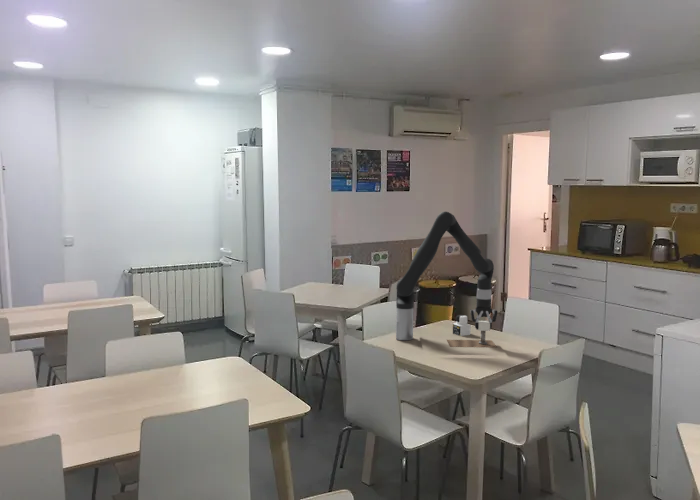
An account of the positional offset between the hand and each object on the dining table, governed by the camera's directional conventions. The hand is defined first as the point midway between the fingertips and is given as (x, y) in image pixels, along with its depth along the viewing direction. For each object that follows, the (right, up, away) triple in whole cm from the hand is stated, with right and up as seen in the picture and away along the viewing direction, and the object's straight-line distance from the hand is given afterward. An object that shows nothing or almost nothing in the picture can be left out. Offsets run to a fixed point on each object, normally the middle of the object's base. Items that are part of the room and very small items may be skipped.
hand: (483, 329), depth 290 cm
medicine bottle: (-7, -7, +21) cm, 23 cm away
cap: (0, 0, 0) cm, 0 cm away
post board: (-6, -9, +1) cm, 11 cm away
